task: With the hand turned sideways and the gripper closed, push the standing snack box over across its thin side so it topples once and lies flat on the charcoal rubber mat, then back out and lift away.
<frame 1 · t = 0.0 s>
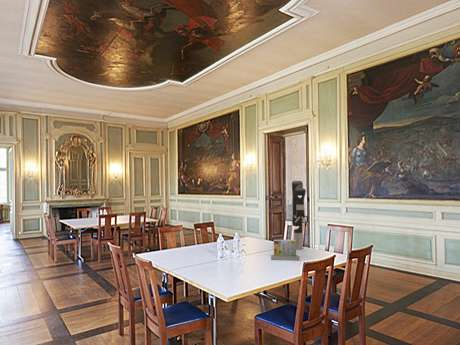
hand: (300, 226, 303), 29 cm above the table, tool pointing down, fingers open, 8 cm apart
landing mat: (285, 258, 301), on the table
snack box: (285, 255, 313), on the table
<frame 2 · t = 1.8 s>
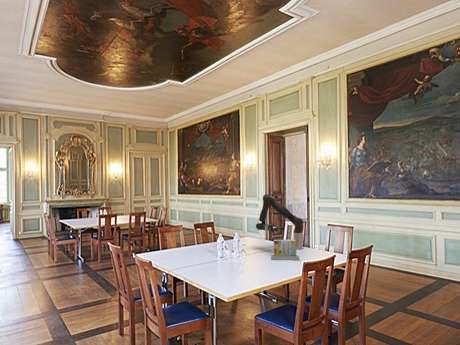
hand: (280, 229, 322), 24 cm above the table, tool horizontal, fingers open, 6 cm apart
nothing on the table moved.
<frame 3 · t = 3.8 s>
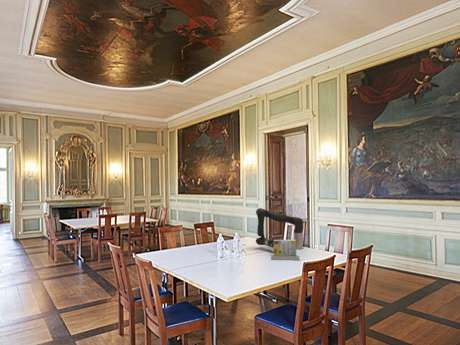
hand: (280, 245, 321), 8 cm above the table, tool horizontal, fingers closed
nothing on the table moved.
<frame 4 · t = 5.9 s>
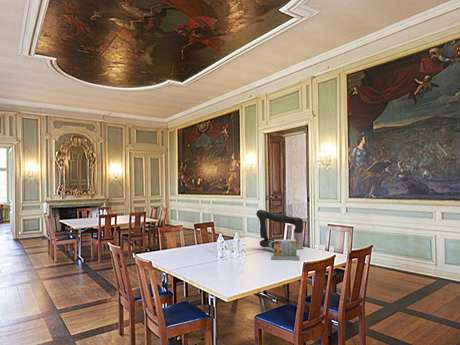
hand: (285, 247, 315), 7 cm above the table, tool horizontal, fingers closed
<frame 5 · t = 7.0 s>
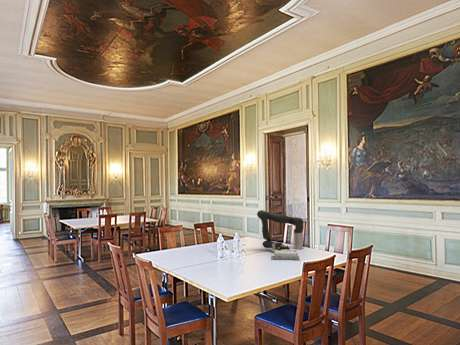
hand: (288, 248, 311), 7 cm above the table, tool horizontal, fingers closed
snack box: (285, 252, 310), point 3 cm above the table, touching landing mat
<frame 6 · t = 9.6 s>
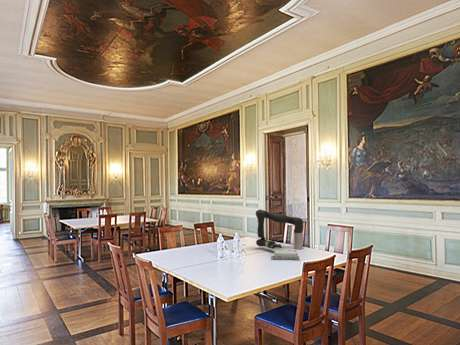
hand: (281, 246, 320), 7 cm above the table, tool horizontal, fingers closed
nothing on the table moved.
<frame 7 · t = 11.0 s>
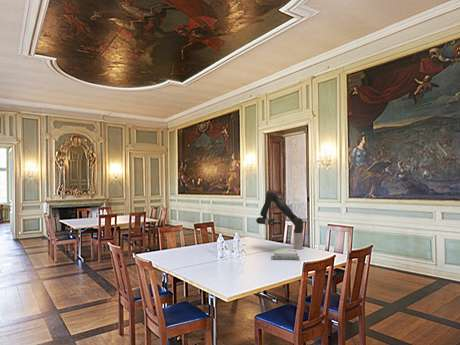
hand: (281, 223, 324), 30 cm above the table, tool horizontal, fingers closed
nothing on the table moved.
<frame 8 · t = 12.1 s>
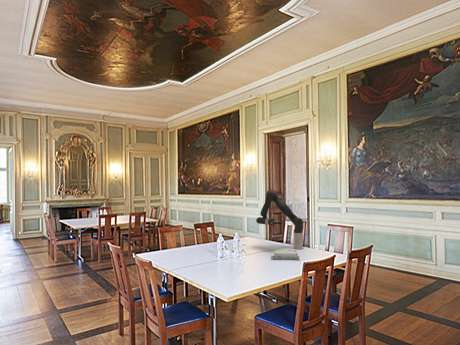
hand: (281, 223, 324), 30 cm above the table, tool horizontal, fingers closed
nothing on the table moved.
at the end: snack box tilted 91°; snack box touching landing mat; the gripper is holding nothing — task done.
